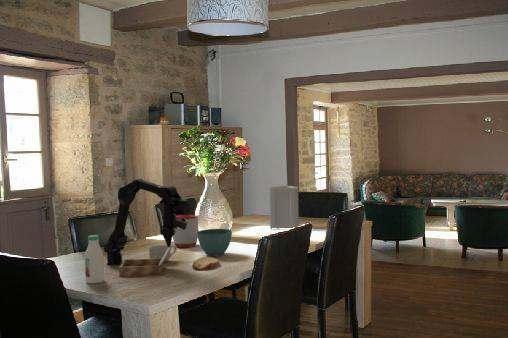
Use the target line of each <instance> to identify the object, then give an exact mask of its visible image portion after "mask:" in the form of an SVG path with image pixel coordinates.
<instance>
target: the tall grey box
mask: <svg viewBox="0 0 508 338" xmlns="http://www.w3.org/2000/svg"><path fill="white" fill-rule="evenodd" d="M268 190H269V194H268V195H269V228H271V229H270V230H273V229H272V228H293V227H297V226H299V225H300V223H299V218H300V217H299V187H298V186H293V185H281V186H270V187H269V188H268Z"/></svg>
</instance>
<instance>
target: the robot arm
mask: <svg viewBox="0 0 508 338" xmlns="http://www.w3.org/2000/svg"><path fill="white" fill-rule="evenodd" d="M117 190H118V191H117V199H118V202H119V206H118V210H117V213H116V214H117V216H116V221H115V225H114V229H113V232H112V233H111V234H110V235H109V237H108V240H107V243H106V245H105V246H104V247H103V251H104V252H103V253H106V255H107V257H106V258H107V259H106V261H107V263H106V265H108V266H109V265H121V264H122V263H123V253H122V251H123V250H124V248H125V245H126V244H127V240H128V235H126V233H125V230H126V225H127V222H128V215H129V211H130V206H131V204H132V203H133V202H134V200H135V198H136V195H137V194H138V193H139V192H140V191H141V190H142V191H146V192H149V193H152V194H155V195H156V196H158V198H160V199H161V200H160V201H159V202H158V204H159V205H162V216H161V218H162V226H161V227H162V228H161V229H160V236H162V237H163V239H164V242H165V245H167V246H168V247H170V245H171V242H173V241H172V239H173V237H172V236H173V235H174V234H175V232H176V231H175V229H177V227H178V228H181V229H183V230H185V229H186V226H187V222H186V221H185V219H184V218H182V219H181V220H180V219H176V216H179V215H190V213H191V205H190V203H188V200H187V199H186V200H185V199H182V197H181V196H180V194H179V192H178V191H177V188H176V187H175V186H172V185H160V184H157V183H153V182H149V181H147V180H145V179H142V178H139V179H137V178H136V179H133V180H132V181H131V182H129V183H127V184H126V185H124V186H121V187H120V188H118V189H117ZM174 228H175V229H174ZM171 246H172V245H171Z"/></svg>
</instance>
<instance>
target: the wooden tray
mask: <svg viewBox="0 0 508 338" xmlns="http://www.w3.org/2000/svg"><path fill="white" fill-rule="evenodd" d="M162 259H163V258H156V259H150V258H137V259H136V258H134V259H133V258H132V259H131V258H130V259H123V261H122V262H121V264H120V265H119V268H118V271H119V277H129V276H130V277H132V276H134V277H135V276H136V277H137V276H157V275H158V276H159V275H161V273H162V271H163V268H164V262H162V264H161V265H160V263H161V261H162Z"/></svg>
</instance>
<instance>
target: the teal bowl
mask: <svg viewBox="0 0 508 338" xmlns="http://www.w3.org/2000/svg"><path fill="white" fill-rule="evenodd" d="M197 236H198V239H197V241H198V243H199V246H200V247H201V250H203V252H204V253H205V254H206V255H207V257H221V256H223V255H224V254H225V252H226V251H227V249H228V248H229V246H230V244H231V240H232V236H233V230H231V229H226V228H210V229H202V230H198V232H197Z"/></svg>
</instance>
